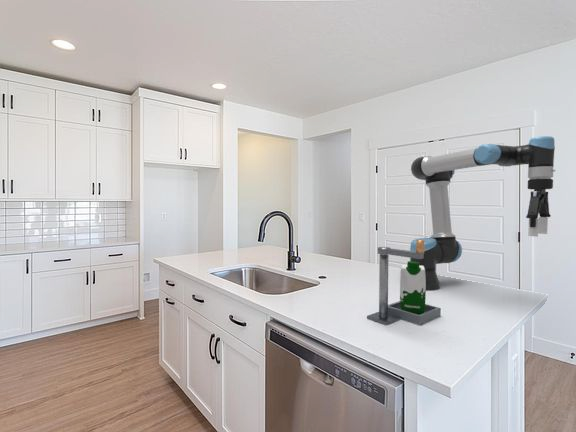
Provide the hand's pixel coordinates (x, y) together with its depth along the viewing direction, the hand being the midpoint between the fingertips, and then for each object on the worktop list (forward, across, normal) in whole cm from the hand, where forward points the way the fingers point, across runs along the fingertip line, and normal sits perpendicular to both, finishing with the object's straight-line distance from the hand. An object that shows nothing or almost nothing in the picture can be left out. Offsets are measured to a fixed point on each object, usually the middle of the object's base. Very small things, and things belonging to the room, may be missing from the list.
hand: (537, 235), depth 122 cm
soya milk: (+29, -41, +28) cm, 57 cm away
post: (+29, -53, +32) cm, 68 cm away
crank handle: (+5, -53, +26) cm, 59 cm away
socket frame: (+29, -41, +28) cm, 57 cm away
